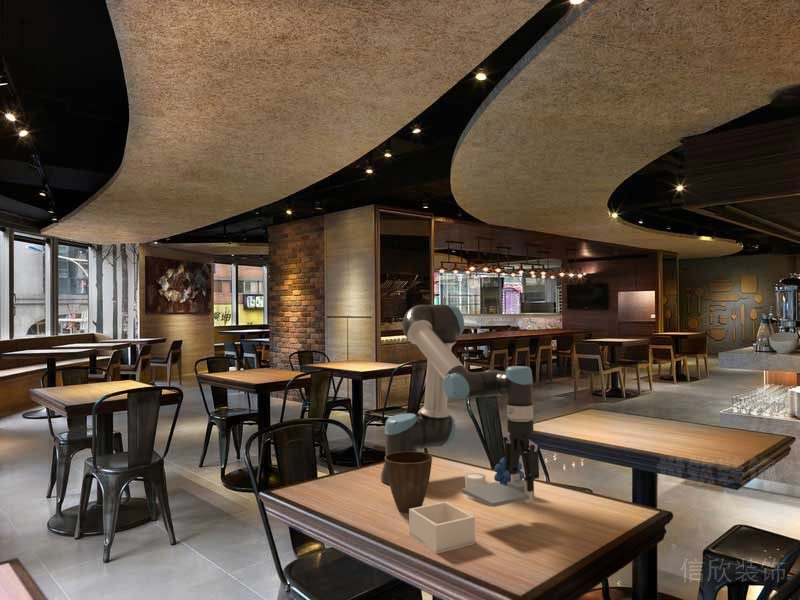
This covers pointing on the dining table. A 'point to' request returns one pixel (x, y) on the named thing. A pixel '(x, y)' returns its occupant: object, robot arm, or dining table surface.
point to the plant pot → (408, 478)
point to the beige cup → (474, 481)
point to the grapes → (505, 473)
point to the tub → (442, 527)
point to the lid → (498, 493)
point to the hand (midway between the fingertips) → (522, 498)
